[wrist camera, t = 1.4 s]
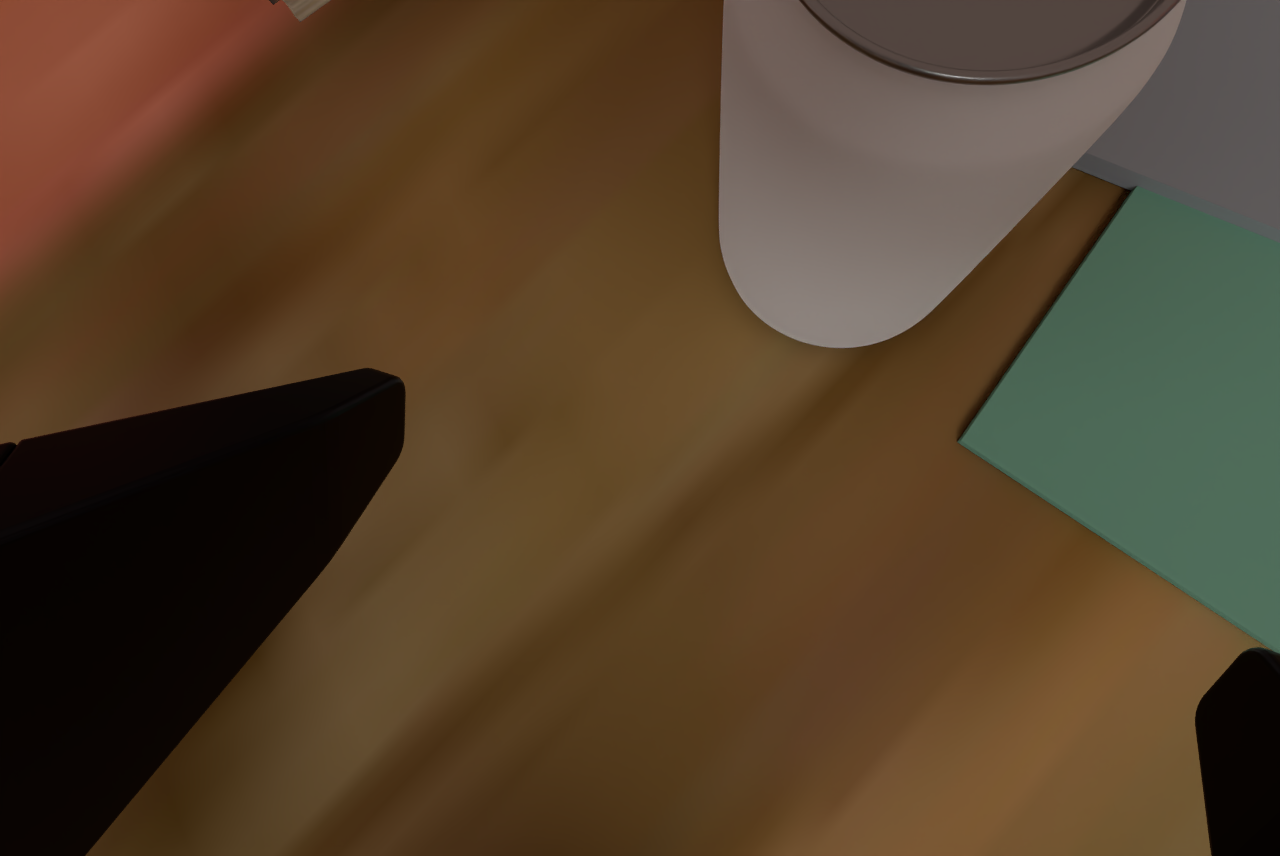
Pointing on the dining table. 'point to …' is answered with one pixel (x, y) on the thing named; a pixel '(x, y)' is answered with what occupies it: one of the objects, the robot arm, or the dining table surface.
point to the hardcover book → (303, 7)
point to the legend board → (1207, 118)
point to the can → (905, 142)
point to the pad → (1159, 405)
